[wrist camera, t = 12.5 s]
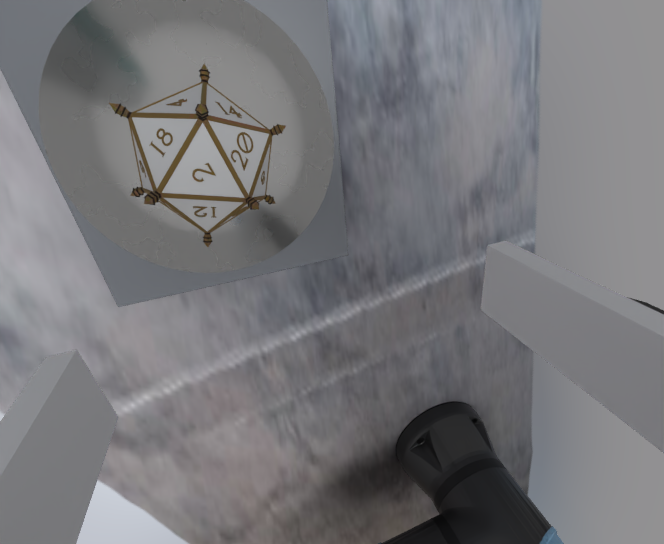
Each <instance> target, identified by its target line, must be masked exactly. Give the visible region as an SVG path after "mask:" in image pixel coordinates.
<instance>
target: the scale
mask: <svg viewBox="0 0 664 544" xmlns="http://www.w3.org/2000/svg"><path fill="white" fill-rule="evenodd" d="M91 1H93V0H0V69H1V71H2V73H3V75H4V77H5V79H6V81H7V83H8V85H9V87H10V89H11V91H12V93H13V95H14V97H15V99H16V101H17V103H18V105H19V107H20V109H21V111H22V113H23V115H24V117H25V120H26V122H27V124H28V126H29V128H30V130H31V132H32V134H33V136H34V138H35V140H36V142H37V144H38V146H39V148H40V150H41V152H42V154H43V156H44V158H45V160H46V162H47V164H48V166H49V168H50V170H51V172H52V174H53V176H54V178H55V180H56V182H57V184H58V186H59V188H60V190H61V192H62V194H63V196H64V198H65V200H66V202H67V204H68V206H69V209H70V211H71V213H72V215H73V217H74V219H75V221H76V223H77V225H78V227H79V229H80V231H81V233H82V235H83V237H84V239H85V241H86V243H87V245H88V247H89V249H90V251H91V253H92V255H93V257H94V259H95V261H96V263H97V265H98V267H99V269H100V271H101V273H102V275H103V277H104V279H105V281H106V283H107V285H108V287H109V289H110V291H111V293H112V295H113V298H114V300H115V302H116V304H117V306H118V307H121V306H126V305H130V304H135V303H139V302H144V301H148V300H152V299H157V298H161V297H166V296H170V295H175V294H179V293H184V292H188V291H192V290H197V289H201V288H206V287H210V286H215V285H219V284H223V283H228V282H232V281H237V280H241V279H246V278H250V277H255V276H259V275H263V274H268V273H272V272H277V271H281V270H286V269H290V268H294V267H299V266H303V265H308V264H312V263H317V262H321V261H325V260H330V259H334V258H339V257H343V256H348V243H347V231H346V219H345V207H344V195H343V184H342V172H341V160H340V148H339V136H338V124H337V113H336V101H335V89H334V77H333V65H332V53H331V41H330V30H329V18H328V6H327V0H243V1H245V2H247V3H249V4H250V5H252V6H253V7H255V8H256V9H258V10H259V11H261V12H262V13H264V14H265V15H267V16H268V17H269V18H270V19H271V20H272V21H273V22H274V23H276V24H277V25H278V26H279V27H280V28H281V29H282V30H283V31H284V32H285V33H286V34H287V35H288V36H289V37H290V38H291V39H292V41H293V42H294V43H295V44H296V45H297V46H298V48H299V49H300V51H301V52H302V53H303V55H304V56H305V58H306V59H307V60H308V62H309V63H310V65H311V67H312V69H313V71H314V73H315V75H316V76H317V78H318V80H319V82H320V85H321V87H322V90H323V92H324V95H325V97H326V100H327V104H328V108H329V111H330V115H331V121H332V128H333V135H334V157H333V168H332V173H331V177H330V182H329V185H328V188H327V191H326V194H325V197H324V199H323V201H322V203H321V206H320V208H319V210H318V212H317V213H316V215H315V216H314V218H313V219H312V221H311V222H310V224H309V225H308V226H307V227H306V229H305V230H304V231H303V232H302V233H301V235H299V236H298V237H297V238H296V239H295V240H294V241H293V242H292V243H291V244H290V245H288V246H287V247H286V248H284V249H283V250H282V251H280V252H279V253H277V254H275V255H274V256H272V257H270V258H268V259H266V260H264V261H262V262H260V263H257V264H255V265H252V266H249V267H245V268H242V269H238V270H233V271H227V272H216V273H199V272H187V271H182V270H176V269H171V268H168V267H164V266H161V265H157V264H155V263H152V262H150V261H147V260H145V259H142V258H140V257H138V256H136V255H134V254H132V253H130V252H128V251H127V250H125V249H123V248H121V247H120V246H119V245H117V244H116V243H114V242H113V241H111V240H110V239H108V238H107V237H106V236H105V235H103V234H102V233H101V232H100V231H99V230H98V229H96V228H95V227H94V226H93V225H92V224H91V223H90V222H89V221H88V220H87V219H86V218H85V217H84V216H83V215H82V214H81V213H80V211H79V210H78V209H77V208H76V206H75V205H74V204H73V202H72V201H71V200H70V198H69V197H68V196H67V194H66V193H65V191H64V189H63V188H62V186H61V184H60V182H59V181H58V179H57V177H56V175H55V173H54V171H53V169H52V166H51V164H50V161H49V159H48V156H47V154H46V150H45V146H44V143H43V139H42V135H41V129H40V120H39V112H38V110H39V88H40V83H41V78H42V73H43V68H44V65H45V62H46V60H47V57H48V55H49V52H50V49H51V47H52V45H53V44H54V42H55V40H56V39H57V37H58V35H59V34H60V32H61V31H62V29H63V28H64V27H65V25H66V24H67V23H68V22H69V21H70V20H71V19H72V18H73V17H74V15H75V14H76V13H77V12H78V11H80V10H81V9H82V8H84V7H85V6H86V5H87V4H89V3H90V2H91Z"/></svg>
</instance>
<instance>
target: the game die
mask: <svg viewBox="0 0 664 544" xmlns="http://www.w3.org/2000/svg"><path fill="white" fill-rule="evenodd" d="M199 72H200V75H199V77H200V78H201V82H200V83H198V84H196V85H193V86H191V87H189V88H186V89H184V90H182V91H179V92H177V93H175V94H173V95H170V96H168V97H166V98H163V99H161V100H159V101H157V102H154V103H152V104H150V105H147V106H145V107H143V108H140V109H138V110H136V111H134V112H129V111H128V110H127V109H126V107H123V106H122V105H121V103H120V104H115V103H109V104H110V106H111V107H112V109H113V110H114V112H115V114H116V113H117V114H119V115H120V117H122V116H123V117H126V118H127V119H128V121H129V126H130V131H131V136H132V141H133V146H134V151H135V157H136V162H137V167H138V172H139V177H140V182H141V187H137V188H133V190H132V193H131V195H130V196H136V197H140V195H144V193H147V195H146V196H145V197H144V199H145V200H144V204H150V205H155V203H156V202H160V203H161V204H163V205H164V206H166V207H167V208H169V209H170V210H172V211H173V212H175V213H176V214H178V215H179V216H181V217H182V218H183V219H185V220H186V221H188V222H189V223H191V224H192V225H194V226H195V227H197V228H198V229H200V230H201V231H203V232H204V237H203V238H204V240H203V242H204V243H205V245H206V246H207V247H209V245H210V244H211V242H213V241H212V237H211V232H213V231H214V230H216V229H217V228H219V227H221V226H222V225H224V224H225V223H227V222H229V221H230V220H232V219H233V218H235V217H236V216H238V215H240V214H241V213H243V212H244V211H246V210H248V209H249V208H250V210H256V209H258V210H259V202H260V201H262V200H263V199H264V200H265V202H268V204H276V203H275V201H274V197H271V196H270V195H266V192H267V182H268V173H269V163H270V154H271V145H272V136H273V135H277V136H278V134H280V133H281V134H282V132H283V130H284V129H285V127H286V126H285V125H279V124H277V125H276V126H273V128H272V129H268V128H267V127H266V126H264V125H263V124H262V123H260V122H259V121H258V120H256V119H255V118H254V117H252V116H251V115H250V114H248V113H247V112H246V111H244V110H243V109H242V108H240V107H239V106H238V105H236V104H235V103H234V102H232V101H231V100H230V99H228V98H227V97H226V96H225V95H223V94H222V93H221V92H219V91H218V90H217V89H215V88H214V87H213V86H211V85H210V84H209V83H208V80H209V78H210V77H209V74H210V72H209V71H208V69H207V67H206V65H205V63H204V64H203V66H202V68H201V69H200V70H199Z"/></svg>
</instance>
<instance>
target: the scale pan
mask: <svg viewBox="0 0 664 544" xmlns="http://www.w3.org/2000/svg"><path fill="white" fill-rule="evenodd" d="M204 63H205V65H206V67H207V69H208V71H209V72H210V74H209V77H210V78H209V80H208V83H209V84H210V85H211V86H213V87H214V88H215V89H217V90H218V91H219V92H221V93H222V94H223V95H225V96H226V97H227V98H228V99H230V100H231V101H232V102H234V103H235V104H236V105H238V106H239V107H240V108H242V109H243V110H244V111H246V112H247V113H248V114H250V115H251V116H252V117H254V118H255V119H256V120H258V121H259V122H260V123H262V124H263V125H264V126H266V127H267V128H268V129H272V128H273V126H276V125H277V124H279V125H285V126H286V127H285V129H284V130H283V132H282V134H281V133H280V134H278V136H277V135H273V136H272V145H271V154H270V163H269V173H268V182H267V192H266V195H270V196H271V197H274V201H275V203H276V204H268V202H265V200H264V199H263V200H262V201H260V202H259V210H258V209H256V210H250V208H249V209H248V210H246V211H244V212H243V213H241V214H240V215H238V216H236V217H235V218H233V219H232V220H230V221H229V222H227V223H225V224H224V225H222V226H221V227H219V228H217V229H216V230H214V231H213V232H211V237H212V241H213V242H211V244H210V245H209V247H207V246H206V245H205V243H204V242H203V240H204V238H203V237H204V232H203V231H201V230H200V229H198V228H197V227H195V226H194V225H192V224H191V223H189V222H188V221H186V220H185V219H183V218H182V217H181V216H179V215H178V214H176V213H175V212H173V211H172V210H170V209H169V208H167V207H166V206H164V205H163V204H161V203H160V202H156V203H155V205H150V204H144V200H145V199H144V197H145V196H146V195H147V193H144V195H140V197H136V196H130V195H131V193H132V190H133V188H137V187H141V182H140V177H139V172H138V167H137V162H136V157H135V151H134V146H133V141H132V136H131V131H130V126H129V121H128V119H127V118H126V117H123V116H122V117H120V115H119V114H117V113H116V114H115V112H114V110H113V109H112V107H111V106H110V104H109V103H115V104H120V103H121V105H122V106H123V107H126V109H127V110H128V111H129V112H134V111H136V110H138V109H140V108H143V107H145V106H147V105H150V104H152V103H154V102H157V101H159V100H161V99H163V98H166V97H168V96H170V95H173V94H175V93H177V92H179V91H182V90H184V89H186V88H189V87H191V86H193V85H196V84H198V83H200V82H201V78H200V77H199V75H200V72H199V70H200V69H201V68H202V66H203V64H204ZM38 112H39V120H40V129H41V135H42V139H43V143H44V146H45V150H46V154H47V156H48V159H49V161H50V164H51V166H52V169H53V171H54V173H55V175H56V177H57V179H58V181H59V182H60V184H61V186H62V188H63V189H64V191H65V193H66V194H67V196H68V197H69V198H70V200H71V201H72V202H73V204H74V205H75V206H76V208H77V209H78V210H79V211H80V213H81V214H82V215H83V216H84V217H85V218H86V219H87V220H88V221H89V222H90V223H91V224H92V225H93V226H94V227H95V228H96V229H98V230H99V231H100V232H101V233H102V234H103V235H105V236H106V237H107V238H108V239H110V240H111V241H113V242H114V243H116V244H117V245H119V246H120V247H121V248H123V249H125V250H127V251H128V252H130V253H132V254H134V255H136V256H138V257H140V258H142V259H145V260H147V261H150V262H152V263H155V264H157V265H161V266H164V267H168V268H171V269H176V270H182V271H187V272H199V273H216V272H227V271H233V270H238V269H242V268H245V267H249V266H252V265H255V264H257V263H260V262H262V261H264V260H266V259H268V258H270V257H272V256H274V255H275V254H277V253H279V252H280V251H282V250H283V249H284V248H286V247H287V246H288V245H290V244H291V243H292V242H293V241H294V240H295V239H296V238H297V237H298V236H299V235H301V233H302V232H303V231H304V230H305V229H306V227H307V226H308V225H309V224H310V222H311V221H312V219H313V218H314V216H315V215H316V213H317V212H318V210H319V208H320V206H321V203H322V201H323V199H324V197H325V194H326V191H327V188H328V185H329V182H330V177H331V173H332V168H333V157H334V135H333V128H332V121H331V115H330V111H329V108H328V104H327V100H326V97H325V95H324V92H323V90H322V87H321V85H320V82H319V80H318V78H317V76H316V75H315V73H314V71H313V69H312V67H311V65H310V63H309V62H308V60H307V59H306V58H305V56H304V55H303V53H302V52H301V51H300V49H299V48H298V46H297V45H296V44H295V43H294V42H293V41H292V39H291V38H290V37H289V36H288V35H287V34H286V33H285V32H284V31H283V30H282V29H281V28H280V27H279V26H278V25H277V24H276V23H274V22H273V21H272V20H271V19H270V18H269V17H268V16H267V15H265V14H264V13H262V12H261V11H259V10H258V9H256V8H255V7H253V6H252V5H250V4H249V3H247V2H245V1H243V0H93V1H91V2H90V3H89V4H87V5H86V6H85V7H84V8H82V9H81V10H80V11H78V12H77V13H76V14H75V15H74V17H73V18H72V19H71V20H70V21H69V22H68V23H67V24H66V25H65V27H64V28H63V29H62V31H61V32H60V34H59V35H58V37H57V39H56V40H55V42H54V44H53V45H52V47H51V49H50V52H49V55H48V57H47V60H46V62H45V65H44V68H43V73H42V78H41V83H40V88H39V110H38Z"/></svg>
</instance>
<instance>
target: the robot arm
mask: <svg viewBox="0 0 664 544" xmlns="http://www.w3.org/2000/svg"><path fill="white" fill-rule="evenodd" d="M481 311H483V312H484V313H485V314H487V315H488V316H489V317H490V318H492V319H493V320H494V321H496V322H497V323H498V324H499V325H501V326H502V327H503V328H504V329H506V330H507V331H508V332H510V333H511V334H512V335H513V336H515V337H516V338H517V339H519V340H520V341H521V342H522V343H524V344H525V345H526V346H527V347H529V348H530V349H531V350H533V351H534V352H535V353H536V354H538V355H539V356H540V357H542V358H543V359H544V360H545V361H547V362H548V363H549V364H550V365H552V366H553V367H554V368H556V369H557V370H558V371H559V372H561V373H562V374H563V375H565V376H566V377H567V378H568V379H570V380H571V381H572V382H574V383H575V384H576V385H577V386H579V387H580V388H581V389H582V390H584V391H585V392H586V393H588V394H589V395H590V396H591V397H593V398H594V399H595V400H597V401H598V402H599V403H600V404H602V405H603V406H604V407H605V408H607V409H608V410H609V411H611V412H612V413H613V414H615V415H616V416H617V417H618V418H619V419H621V420H622V421H623V422H625V423H626V424H627V425H628V426H630V427H631V428H632V429H634V430H635V431H636V432H637V433H639V434H640V435H641V436H642V437H644V438H645V439H646V440H648V441H649V442H650V443H651V444H653V445H654V446H655V447H657V448H658V449H659V450H660V451H662V452H663V453H664V311H663V310H661V309H659V308H657V307H654V306H652V305H650V304H648V303H645V302H642V301H638V300H635V299H632V298H628V297H625V296H623V295H621V294H618V293H617V292H615V291H612V290H610V289H608V288H606V287H604V286H601V285H600V284H597V283H595V282H593V281H591V280H589V279H587V278H584V277H582V276H580V275H578V274H576V273H574V272H572V271H570V270H568V269H565V268H563V267H561V266H559V265H557V264H555V263H553V262H551V261H548V260H546V259H544V258H542V257H540V256H538V255H536V254H533V253H531V252H529V251H527V250H525V249H523V248H521V247H519V246H516V245H514V244H512V243H510V242H508V241H502V242H498V243H494V244H490V245H487V253H486V263H485V272H484V282H483V292H482V301H481ZM117 420H118V416H117V414H116V412H115V411H114V409H113V407H112V406H111V404H110V403H109V401H108V399H107V398H106V396H105V394H104V393H103V391H102V390H101V388H100V386H99V385H98V383H97V381H96V380H95V378H94V377H93V375H92V373H91V372H90V370H89V368H88V367H87V365H86V364H85V362H84V360H83V359H82V357H81V355H80V354H79V352H78V351H77V350H73V351H69V352H65V353H61V354H57V355H53V356H49V357H46V358H45V359H44V361H43V362H42V363H41V365H40V366H39V368H38V369H37V370H36V372H35V373H34V375H33V376H32V378H31V379H30V380H29V382H28V383H27V385H26V386H25V387H24V389H23V390H22V392H21V393H20V395H19V396H18V397H17V399H16V400H15V402H14V403H13V404H12V406H11V407H10V409H9V410H8V411H7V413H6V414H5V416H4V417H3V419H2V420H1V421H0V544H76V542H77V539H78V536H79V533H80V530H81V527H82V524H83V521H84V518H85V515H86V512H87V509H88V506H89V503H90V500H91V497H92V494H93V491H94V488H95V485H96V482H97V479H98V476H99V473H100V470H101V467H102V464H103V461H104V459H105V456H106V453H107V450H108V447H109V444H110V441H111V438H112V435H113V432H114V429H115V426H116V423H117ZM396 454H397V457H398V459H399V461H400V463H401V465H402V467H403V469H404V471H405V472H406V473H407V474H408V475H409V476H410V477H411V478H412V479H413V481H414V482H415V483H416V484H417V485H418V486H419V487H420V488H421V489H422V490H423V491H424V492H425V493H426V494H427V495H428V496H429V497H430V498H431V500H432V501H433V503H434V505H435V506H436V508H437V510H438V512H439V514H440V515H438V516H436V517H434V518H431V519H429V520H427V521H426V522H424V523H422V524H420V525H418V526H416V527H414V528H412V529H410V530H408V531H406V532H404V533H402V534H400V535H398V536H396V537H394V538H392V539H389V540H387V541H385V542H383V543H378V544H564V543H563V542H562V541H561V539H560V538H559V537H558V535H557V531H556V530H555V529H554V527H553V526H551V525H550V524H549V523H548V521H547V520H546V519H545V517H544V516H543V515H542V514H541V512H540V511H539V510H538V509H537V507H536V506H535V505H534V504H533V502H532V501H531V500H530V498H529V497H528V496H527V495H526V493H525V492H524V491H523V489H522V488H521V487H520V486H519V484H518V483H517V482H516V481H515V479H514V478H513V477H512V475H511V474H510V473H509V472H508V471H507V469H506V468H505V467H504V465H503V464H502V463H501V461H500V460H499V459H498V457H497V455H496V453H495V450H494V448H493V445H492V443H491V440H490V438H489V436H488V433H487V431H486V428H485V426H484V423H483V421H482V420H481V418H480V417H479V416H478V414H477V413H476V412H475V411H474V409H473V408H472V407H471V406H469V405H467V404H464V403H447V404H443V405H440V406H437V407H435V408H432V409H430V410H428V411H427V412H425V413H423V414H422V415H420V416H419V417H418V418H416V419H415V420H414V421H413V422H412V423H411V424H410V425H409V426H408V427H407V428H406V429H405V430H404V432H403V433H402V435H401V436H400V438H399V440H398V443H397V447H396Z"/></svg>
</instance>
